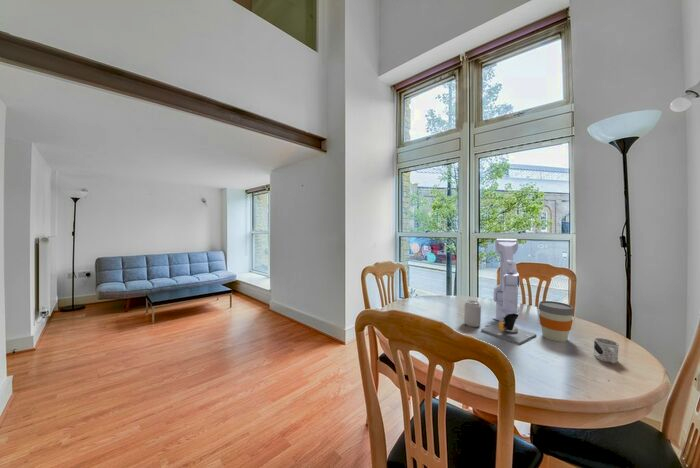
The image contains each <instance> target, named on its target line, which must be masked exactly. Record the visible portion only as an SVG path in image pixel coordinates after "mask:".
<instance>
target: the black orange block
mask: <svg viewBox="0 0 700 468" xmlns="http://www.w3.org/2000/svg"><path fill="white" fill-rule="evenodd" d="M498 322H499V330H501V331H505V332H508V333H517V332H518V329H519V327H517V326H515V325H514V327H513V330H509V329H507V328H506V324H505V321H498Z"/></svg>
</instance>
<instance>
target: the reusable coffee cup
mask: <svg viewBox="0 0 700 468" xmlns="http://www.w3.org/2000/svg"><path fill="white" fill-rule="evenodd" d="M538 310H539V314H538V317H539V324H540V326H541V333H542V337H544V338H546V339H547V340H550V341H556V342H562V343H563V342H567V341H568V339H569V338H568V337H569V333H570V331H572V325H573V316H574V306H572V305H570V304H567V303H563V302H560V301H553V300H543V301H539V303H538Z"/></svg>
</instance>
